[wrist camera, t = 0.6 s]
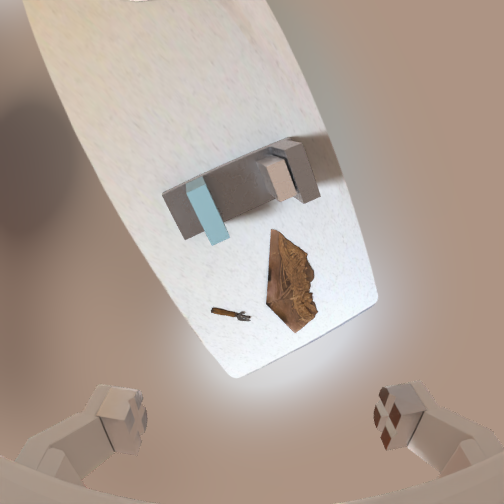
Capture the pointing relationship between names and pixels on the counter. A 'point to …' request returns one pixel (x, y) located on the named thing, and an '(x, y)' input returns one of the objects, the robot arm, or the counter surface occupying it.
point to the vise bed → (242, 185)
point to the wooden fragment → (289, 283)
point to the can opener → (230, 314)
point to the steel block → (276, 177)
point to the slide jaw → (206, 211)
